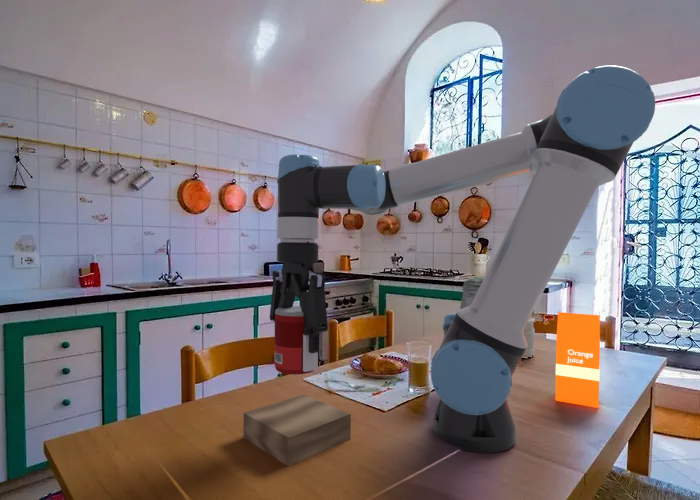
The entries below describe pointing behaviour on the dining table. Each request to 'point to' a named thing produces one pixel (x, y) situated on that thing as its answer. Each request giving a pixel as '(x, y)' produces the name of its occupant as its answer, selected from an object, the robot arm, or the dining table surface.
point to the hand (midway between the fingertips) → (296, 364)
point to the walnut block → (296, 428)
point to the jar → (529, 338)
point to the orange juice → (578, 359)
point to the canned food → (289, 340)
